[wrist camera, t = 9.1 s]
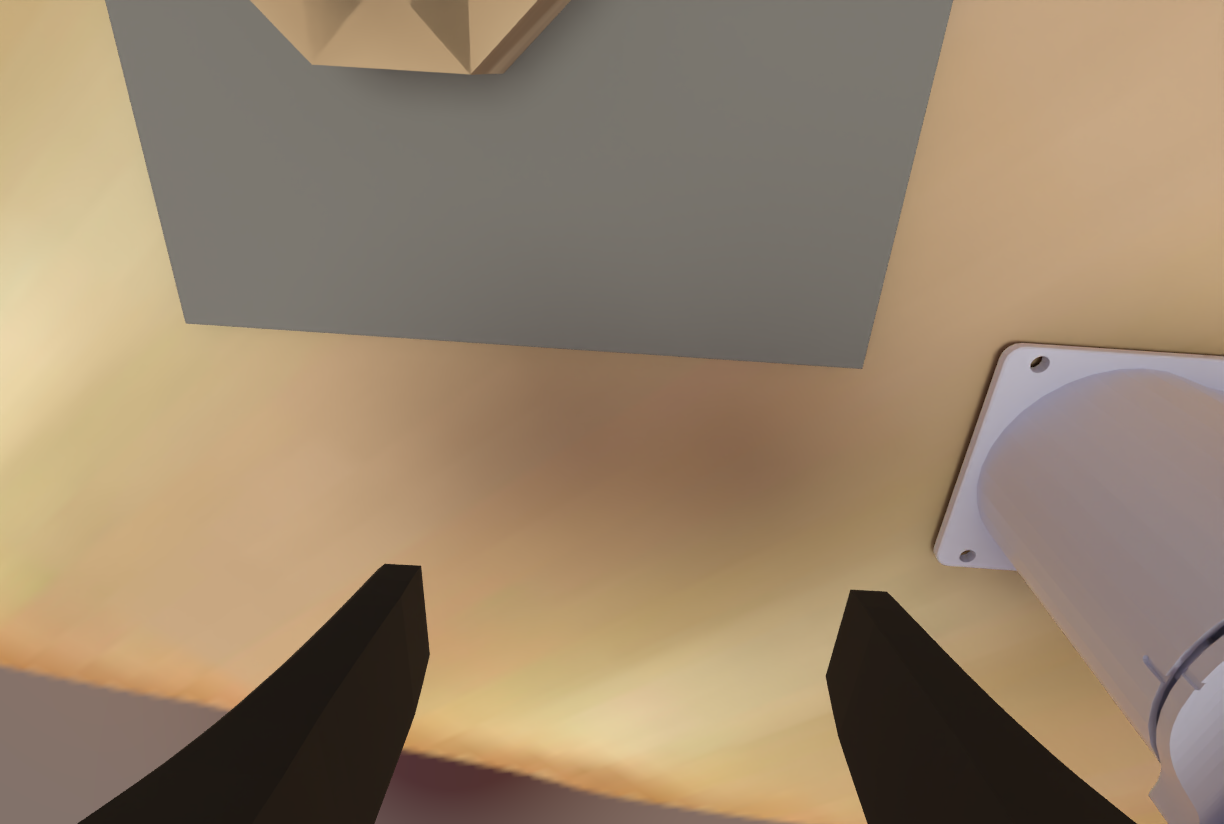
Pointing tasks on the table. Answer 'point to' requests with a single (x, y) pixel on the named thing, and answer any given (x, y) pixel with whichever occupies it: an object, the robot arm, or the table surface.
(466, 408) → the table surface
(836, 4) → the charcoal mat
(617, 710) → the table surface
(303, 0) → the beech bead
